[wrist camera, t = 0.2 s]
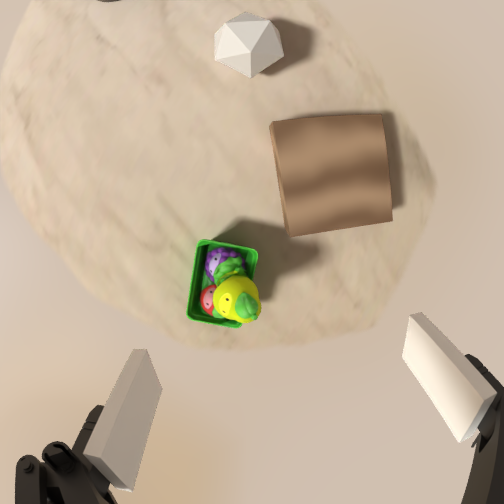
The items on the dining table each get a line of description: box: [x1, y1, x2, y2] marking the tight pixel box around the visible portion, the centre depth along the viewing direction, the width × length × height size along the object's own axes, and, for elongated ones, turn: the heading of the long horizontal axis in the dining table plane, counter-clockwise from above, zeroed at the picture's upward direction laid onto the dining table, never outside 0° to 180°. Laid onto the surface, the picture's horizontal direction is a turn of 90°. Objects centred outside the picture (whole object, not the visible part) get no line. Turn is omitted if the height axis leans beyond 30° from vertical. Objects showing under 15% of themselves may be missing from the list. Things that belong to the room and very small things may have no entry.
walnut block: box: [269, 114, 393, 237], centre depth 35 cm, size 14×14×5 cm
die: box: [214, 12, 284, 78], centre depth 28 cm, size 8×9×10 cm
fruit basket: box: [186, 239, 261, 328], centre depth 36 cm, size 11×9×11 cm
